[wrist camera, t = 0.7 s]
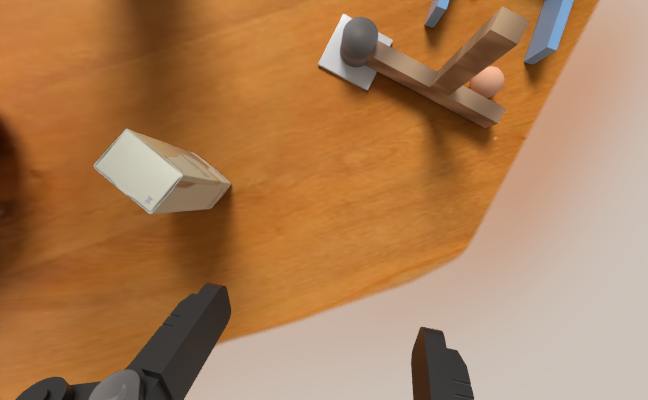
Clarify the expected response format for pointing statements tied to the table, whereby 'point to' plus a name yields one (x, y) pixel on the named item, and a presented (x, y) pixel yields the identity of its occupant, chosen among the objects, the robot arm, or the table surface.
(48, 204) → the table surface
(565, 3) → the blue u-shaped barrier
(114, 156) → the skincare box
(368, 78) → the lever base
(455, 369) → the robot arm
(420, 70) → the lever
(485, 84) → the ball
